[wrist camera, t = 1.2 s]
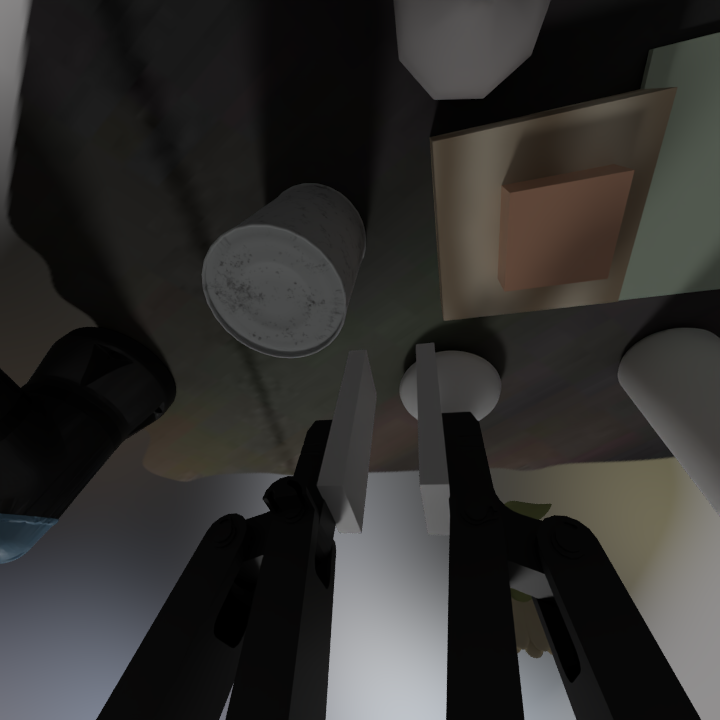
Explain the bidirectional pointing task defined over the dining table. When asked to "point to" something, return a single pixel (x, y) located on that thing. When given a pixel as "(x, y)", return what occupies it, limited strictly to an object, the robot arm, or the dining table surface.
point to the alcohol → (680, 398)
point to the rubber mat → (682, 178)
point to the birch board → (527, 162)
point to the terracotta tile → (561, 227)
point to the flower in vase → (479, 396)
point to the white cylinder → (287, 272)
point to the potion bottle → (466, 42)
